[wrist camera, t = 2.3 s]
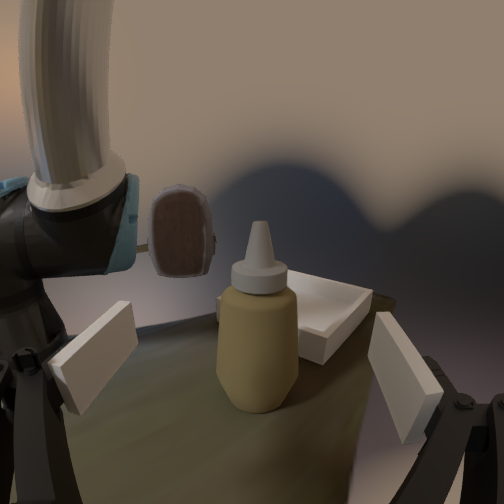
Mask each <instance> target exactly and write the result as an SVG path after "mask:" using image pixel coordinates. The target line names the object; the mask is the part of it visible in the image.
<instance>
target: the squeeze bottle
mask: <svg viewBox="0 0 504 504" xmlns="http://www.w3.org/2000/svg"><path fill="white" fill-rule="evenodd" d="M231 269H232V270H231V272H232V285H231V286H230V287H228V288H227V289H226V290H225V291H223V294H222V296H221V305H220V319H219V334H218V350H217V367H216V373H217V376H218V378H219V380H220V383H221V385H222V386H223V388H224V390H225V392H226V394H227V396H228V397H229V399H230V401H231V403H232V404H233V405H235V406H236V407H237V408H238V409H240V410H243V411H246V412H249V413H265V412H269V411H273V410H274V409H276V408H277V407H279V406H280V405H281V404H282V403H283V401H284V399H285V398H286V396H287V394H288V393H289V391H290V389H291V388H292V386H293V384H294V383H295V381H296V379H297V377H298V375H299V359H298V314H297V297H296V293H295V292H294V291H292V290H291V289H290V288H289V287H288V286H287V273H288V269H287V265H285V264H284V263H282V262H280V261H276V260H275V259H274V253H273V248H272V243H271V237H270V232H269V227H268V222H266V221H254V222H253V225H252V230H251V234H250V238H249V243H248V247H247V252H246V256H245V260H242V261H238V262H236V263H234V264H233V265H232V268H231Z"/></svg>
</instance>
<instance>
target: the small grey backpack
mask: <svg viewBox="0 0 504 504" xmlns="http://www.w3.org/2000/svg"><path fill="white" fill-rule="evenodd" d="M148 233H149V237H148V238H147V241H148V249H149V255H150V257H151V259H152V262H153V264H154V267H155V269H156V271H157V273H158V275H160V276H165V277H174V278H187V277H196V276H201V275H205V274H207V273H208V270H209V266H210V263H211V260H212V256H213V255H214V254H215V241H216V236H215V233H213V229H212V215H211V211H210V208H209V205H208V203H207V200H206V196H205V195H204V194H202V193H201V192H200V191H199V190H197V189H196V188H195V187H192V186H187V185H182V184H177V185H174V186H170V187H167V188H164V189H163V190H162V191H161V192H160V193H159V194H158V195H157V196H156V197H155V198H154V199H153V202H152V205H151V209H150V213H149V217H148Z"/></svg>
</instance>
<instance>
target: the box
mask: <svg viewBox="0 0 504 504" xmlns="http://www.w3.org/2000/svg"><path fill="white" fill-rule="evenodd" d="M287 286H288V287H289V288H290V289H291V290H292V291H294V292H295V293H296V297H297V314H298V356H299V357H302V358H305V359H307V360H310V361H312V362H315V363H318V364H320V365H324V363H325V362H326V361H327V360H328V359H329V358H330V357H331V356H332V355H333V354H334V353H335V352H336V350H337V349H338V348H339V347H340V346H341V345H342V344H343V343H344V341H345V340H346V339H347V338H348V337H349V336H350V335H351V333H352V332H353V331H354V330H355V329H356V327H357V326H358V325H359V324H360V323H361V321H362V320H363V319H364V318H365V317H366V315H367V314H368V313H369V312H370V306H371V300H372V294H373V290H371V289H366V288H362V287H358V286H354V285H349V284H345V283H341V282H337V281H333V280H329V279H325V278H320V277H316V276H312V275H308V274H304V273H299V272H296V271H292V270H288V273H287ZM221 296H222V295H221ZM221 296H219V297H217V298H216V310H217V322H219V319H220V305H221Z"/></svg>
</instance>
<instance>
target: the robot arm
mask: <svg viewBox="0 0 504 504" xmlns="http://www.w3.org/2000/svg"><path fill="white" fill-rule="evenodd" d="M113 3H114V0H21V2H20V14H19V40H18V41H19V43H18V44H19V46H18V48H19V75H20V88H21V98H22V106H23V114H24V120H25V127H26V132H27V138H28V144H29V149H30V153H31V158H32V162H33V167H34V171H35V172H34V173H33V175H32V177H31V179H30V178H29V177H27V176H24V177H17V178H11V179H7V180H4V181H2V182H0V504H9V501H10V493H11V486H12V480H13V474H14V469H15V481H16V491H17V503H11V504H83V503H82V500H81V496H80V493H79V490H78V486H77V483H76V479H75V475H74V471H73V467H72V462H71V458H70V453H69V448H68V443H67V438H66V432H65V426H64V419H63V412H62V410H61V408H60V406H61V405H62V404H63V403H65V405H66V407H67V410H68V412H71V413H73V414H76V415H78V416H82V415H83V414H84V412H85V411H86V410H87V408H88V407H89V406H90V405H91V403H92V402H93V401H94V399H95V398H96V397H97V395H98V394H99V393H100V392H101V390H102V389H103V388H104V387H105V385H106V384H107V383H108V381H109V380H110V379H111V378H112V376H113V375H114V374H115V373H116V371H117V370H118V369H119V368H120V366H121V365H122V364H123V363H124V361H125V360H126V359H127V358H128V356H129V355H130V354H131V353H132V351H133V350H134V349H135V348H136V346H137V345H138V339H137V334H136V328H135V323H134V317H133V311H132V305H131V302H128V301H118V302H117V303H116V304H115V305H114V306H112V307H111V308H110V309H109V310H108V311H106V312H105V313H104V314H103V315H102V316H100V317H99V318H98V319H97V320H96V321H94V322H93V323H92V324H91V325H90V326H89V327H87V329H85V330H84V331H83V332H82V333H80V334H79V335H78V336H77V337H75V338H73V339H70V340H68V336H67V333H66V329H65V326H64V323H63V321H62V319H61V318H60V316H59V314H58V313H57V311H56V309H55V308H54V306H53V304H52V303H51V301H50V299H49V298H48V296H47V294H46V292H45V290H44V286H43V281H42V279H43V278H58V277H74V276H90V275H107V274H108V273H113V272H120V271H125V270H128V269H129V268H131V267H132V266H133V264H134V262H135V259H136V249H137V218H138V203H139V177H138V176H137V175H133V174H130V173H128V174H126V168H125V163H124V160H123V159H122V158H121V156H119V155H118V154H117V153H115V152H114V151H112V150H110V137H109V114H108V68H109V46H110V31H111V21H112V12H113ZM368 359H369V361H370V363H371V366H372V368H373V371H374V373H375V375H376V378H377V380H378V383H379V385H380V388H381V390H382V393H383V395H384V398H385V400H386V403H387V405H388V408H389V411H390V413H391V416H392V419H393V421H394V424H395V427H396V429H397V432H398V435H399V437H400V440H401V443H402V445H405V444H410V443H415V442H419V440H420V438H421V437H422V435H423V433H425V435H426V437H427V440H426V442H425V444H424V445H423V447H422V449H421V450H420V452H419V453H418V457H417V459H416V461H415V463H414V464H413V466H412V468H411V470H410V471H409V473H408V475H407V477H406V478H405V480H404V482H403V483H402V485H401V486H400V488H399V490H398V491H397V493H396V494H395V496H394V497H393V499H392V500H391V502H390V503H389V504H444V502H445V499H446V497H447V495H448V493H449V491H450V488H451V486H452V484H453V481H454V479H455V476H456V474H457V471H458V468H459V466H460V463H461V460H462V457H463V454H464V451H465V457H464V472H463V482H462V491H461V498H460V504H504V394H497V395H495V396H494V398H493V399H492V401H491V403H490V404H476V402H475V400H474V399H473V398H472V397H471V396H469V395H467V394H463V393H458V392H457V391H456V389H455V388H454V386H453V385H452V383H451V382H450V381H449V379H448V378H447V376H445V373H444V372H443V370H441V368H440V366H439V365H438V363H437V362H436V361H435V360H433V359H432V358H430V357H429V356H425V357H421V355H420V354H419V353H418V351H417V350H416V348H415V347H414V345H413V344H412V343H411V341H410V340H409V338H408V337H407V335H406V334H405V332H404V331H403V330H402V328H401V327H400V326H399V324H398V323H397V322H396V320H395V319H394V317H393V316H392V314H391V313H390V312H376V317H375V322H374V327H373V332H372V337H371V342H370V347H369V351H368ZM1 400H2V402H3V404H4V406H3V408H1Z"/></svg>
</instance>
